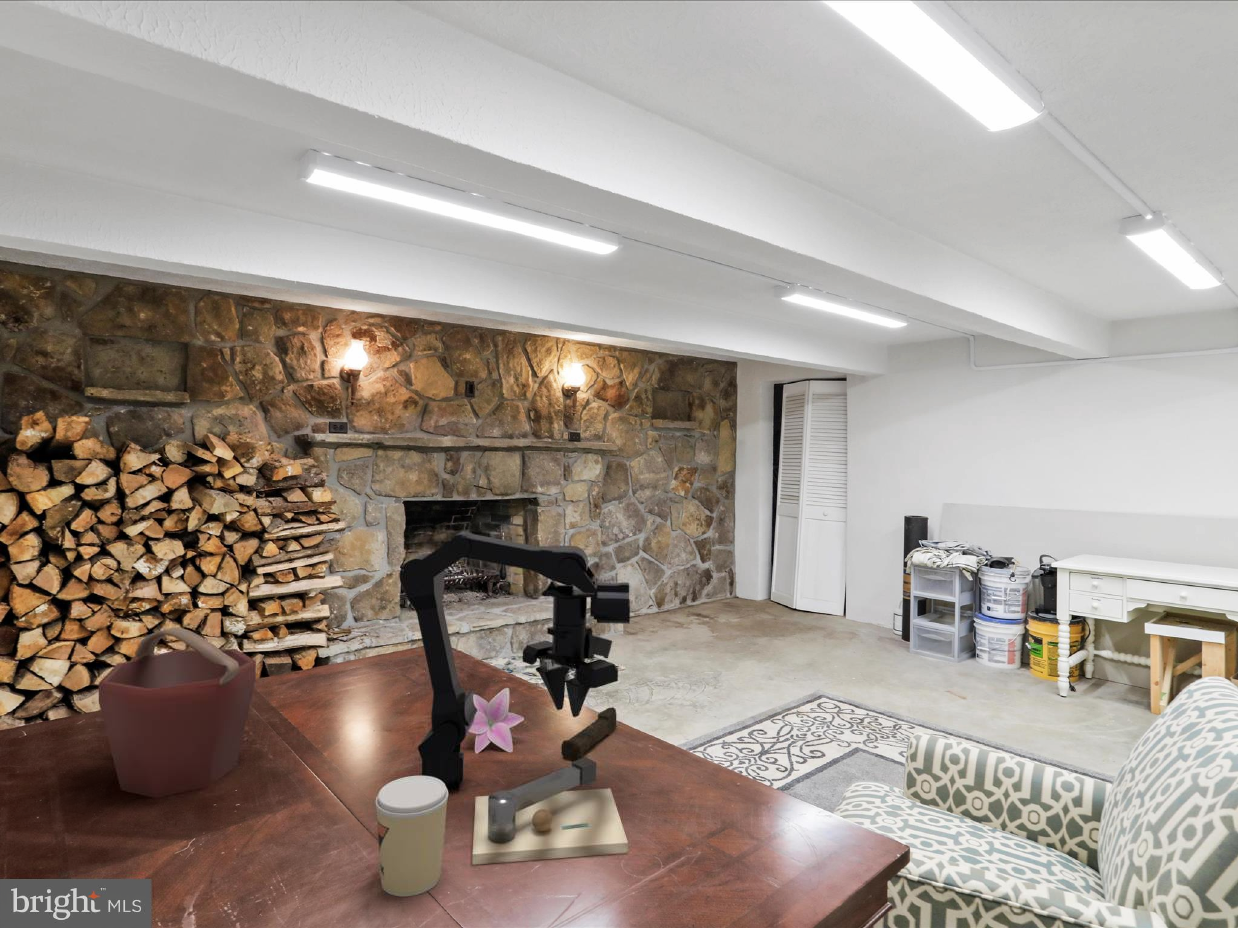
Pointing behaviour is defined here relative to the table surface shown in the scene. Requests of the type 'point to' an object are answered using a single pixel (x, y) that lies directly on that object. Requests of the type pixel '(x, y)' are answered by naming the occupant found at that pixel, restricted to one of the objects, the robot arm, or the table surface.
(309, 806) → the table surface
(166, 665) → the bucket
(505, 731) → the lily
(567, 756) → the wooden log
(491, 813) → the lever
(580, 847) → the board
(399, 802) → the lidded canister
